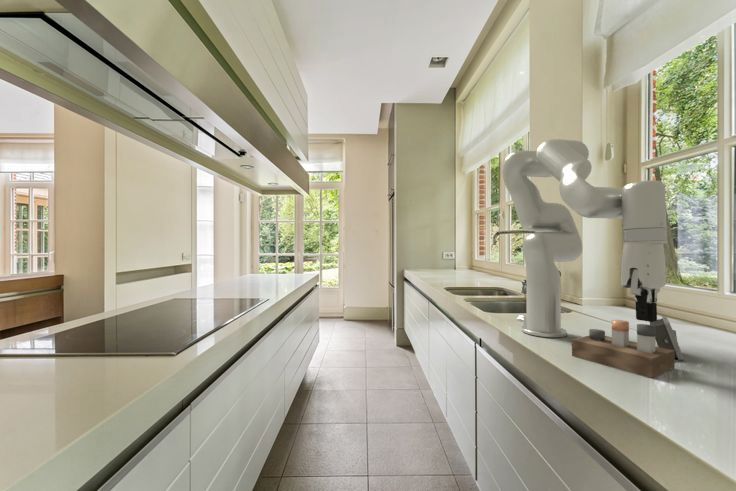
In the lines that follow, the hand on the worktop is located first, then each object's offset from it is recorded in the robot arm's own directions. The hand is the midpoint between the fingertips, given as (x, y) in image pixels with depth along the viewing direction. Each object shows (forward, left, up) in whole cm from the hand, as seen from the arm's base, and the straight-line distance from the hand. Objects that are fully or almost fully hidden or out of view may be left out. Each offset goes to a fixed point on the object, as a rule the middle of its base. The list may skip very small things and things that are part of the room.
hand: (646, 320), depth 73 cm
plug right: (0, 0, -7) cm, 7 cm away
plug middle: (-5, 0, -7) cm, 9 cm away
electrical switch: (-2, +16, -11) cm, 20 cm away
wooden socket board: (-5, 0, -11) cm, 12 cm away
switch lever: (-10, 0, -10) cm, 14 cm away
